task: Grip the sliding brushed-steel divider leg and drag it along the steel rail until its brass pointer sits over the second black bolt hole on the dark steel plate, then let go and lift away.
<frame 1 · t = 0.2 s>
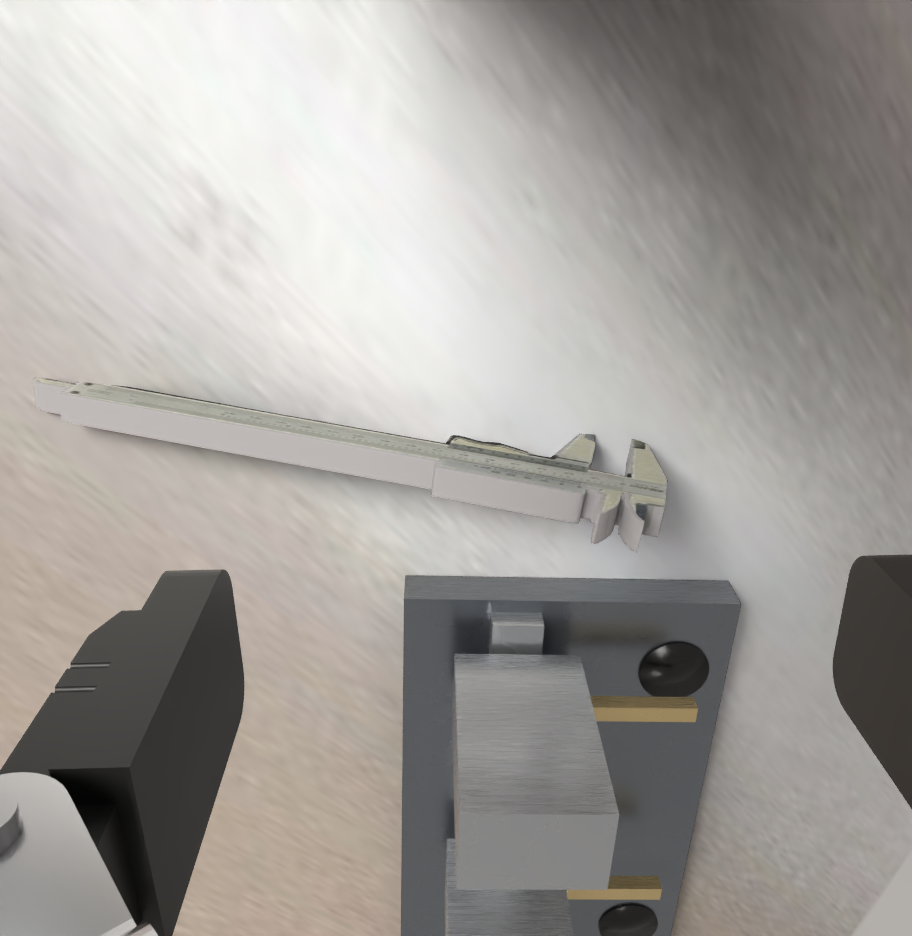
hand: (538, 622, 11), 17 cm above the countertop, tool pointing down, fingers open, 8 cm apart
fixed leg: (514, 688, 30), resting on hole plate
caliper: (348, 418, 29), on the countertop
hole plate: (544, 797, 36), on the countertop
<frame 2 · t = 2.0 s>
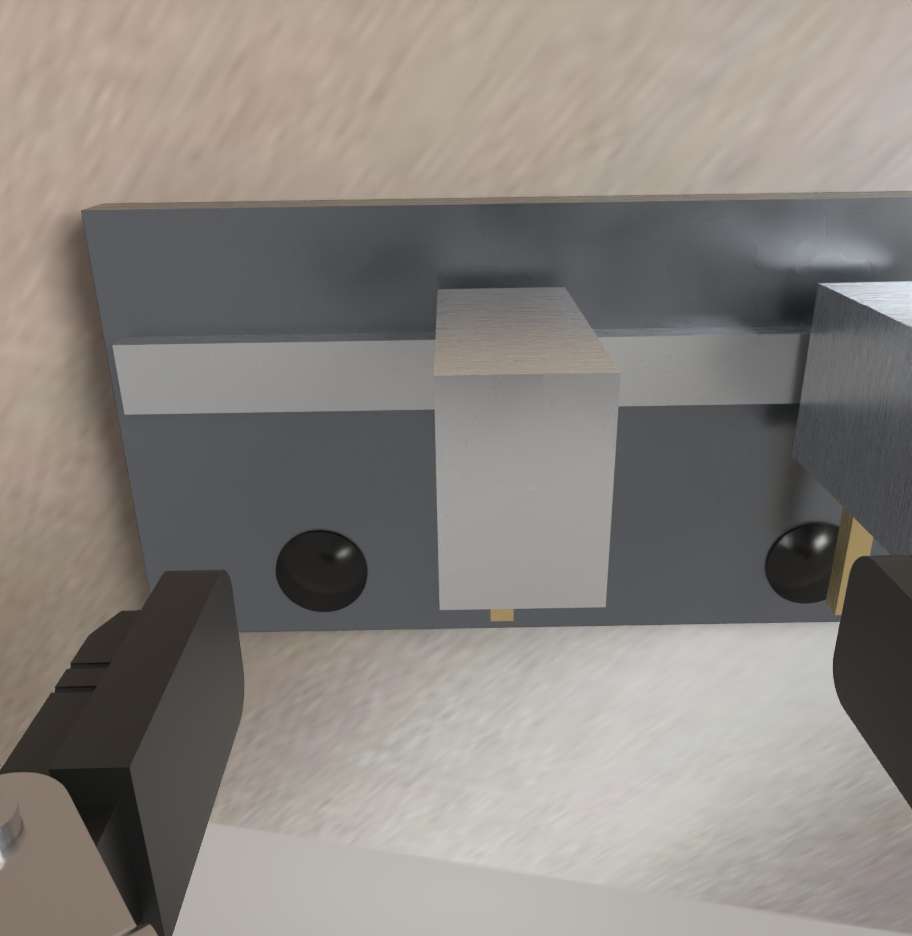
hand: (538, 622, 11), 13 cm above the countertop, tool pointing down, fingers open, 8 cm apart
divider leg: (509, 513, 19), point 6 cm above the countertop, slide at -5.0 cm
fixed leg: (865, 371, 21), resting on hole plate
hole plate: (530, 418, 24), on the countertop
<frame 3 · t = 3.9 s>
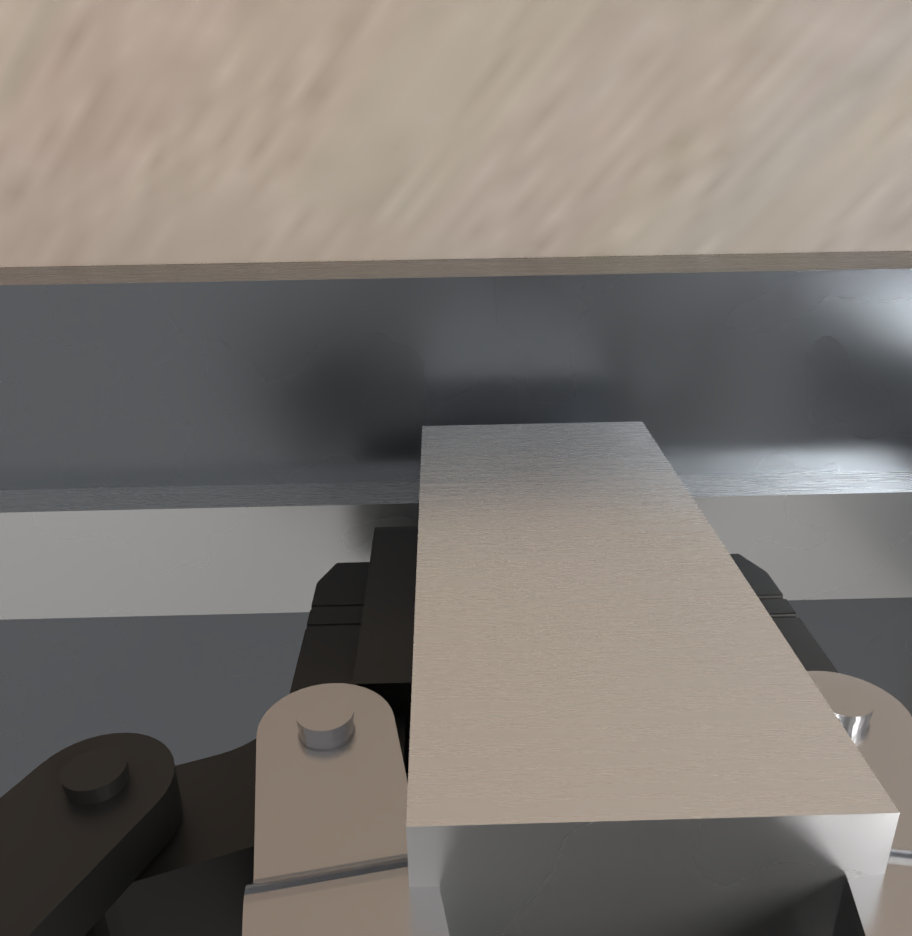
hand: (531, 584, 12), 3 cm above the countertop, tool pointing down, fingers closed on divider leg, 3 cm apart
divider leg: (556, 861, 10), point 6 cm above the countertop, slide at -5.0 cm, touching gripper
hole plate: (565, 589, 16), on the countertop
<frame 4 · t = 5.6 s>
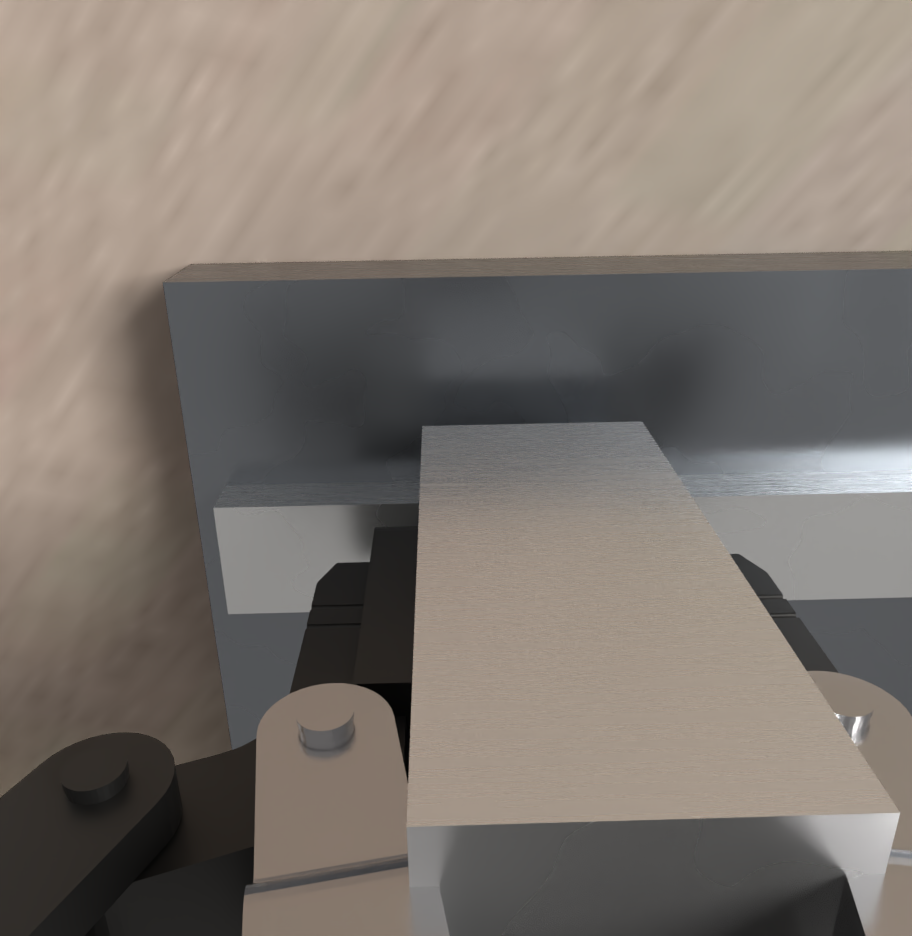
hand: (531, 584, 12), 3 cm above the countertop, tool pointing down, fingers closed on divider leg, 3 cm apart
divider leg: (556, 861, 10), point 6 cm above the countertop, slide at -0.1 cm, touching gripper
hole plate: (833, 582, 16), on the countertop
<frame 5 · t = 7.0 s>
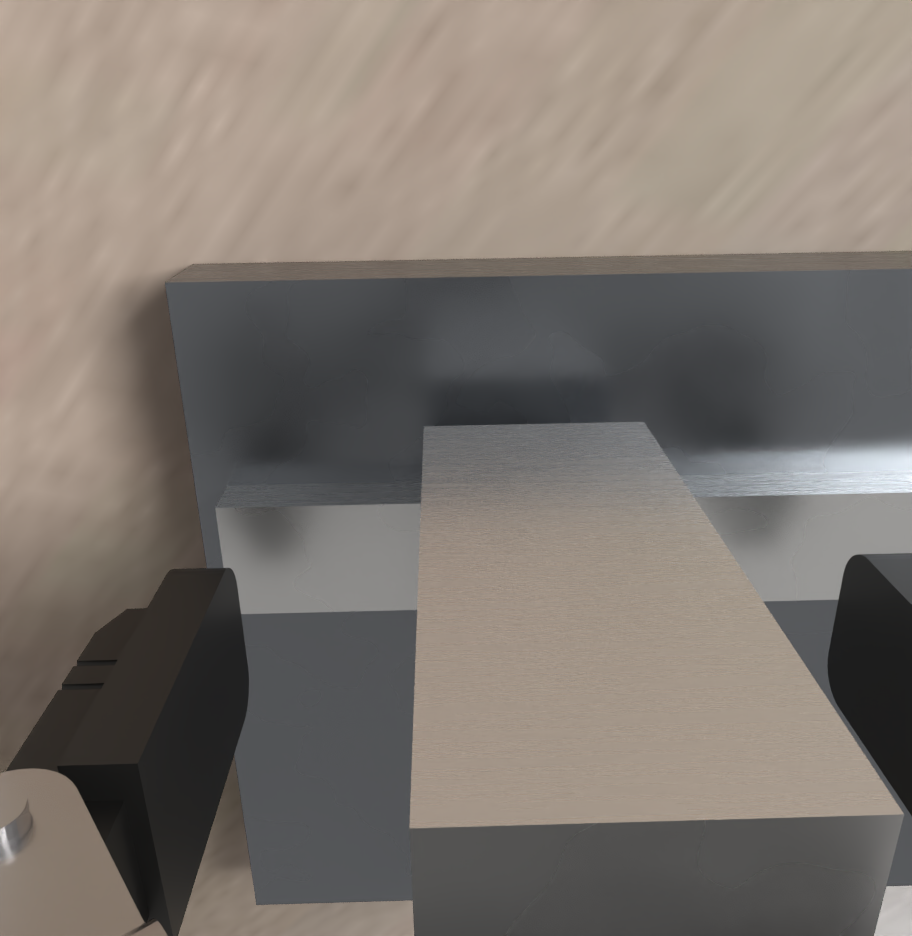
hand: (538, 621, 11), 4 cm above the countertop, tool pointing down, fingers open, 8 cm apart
divider leg: (558, 862, 10), point 6 cm above the countertop, slide at -0.1 cm
hole plate: (835, 582, 16), on the countertop
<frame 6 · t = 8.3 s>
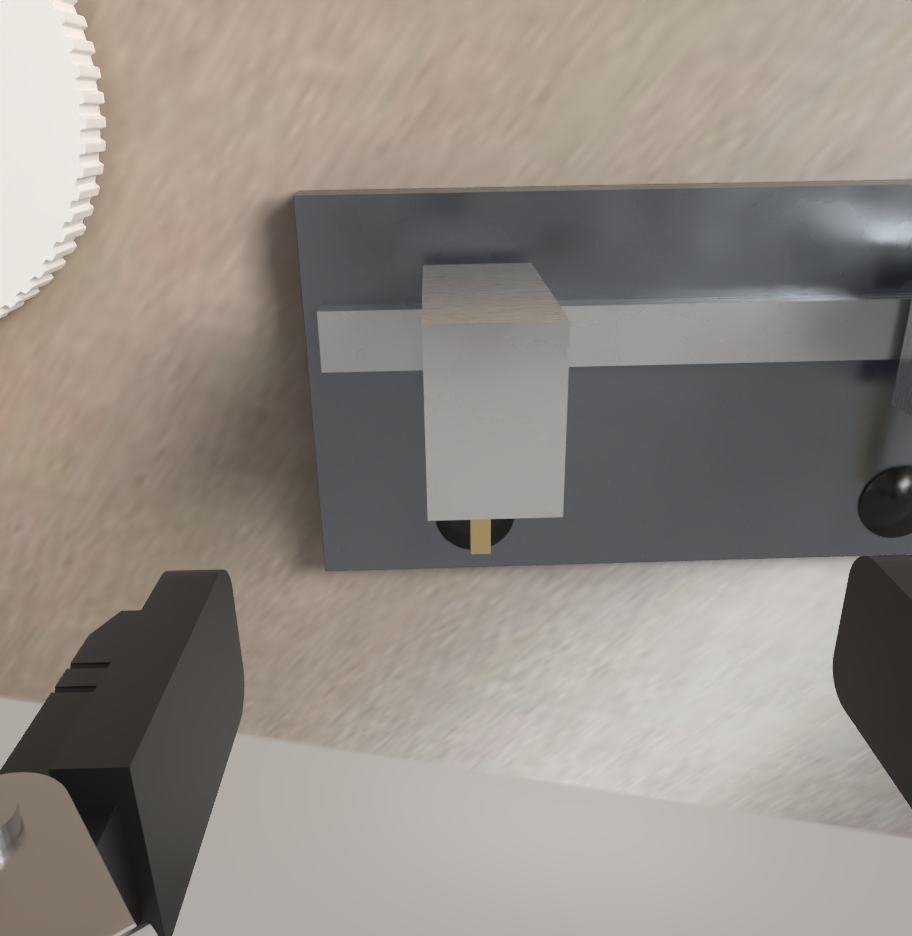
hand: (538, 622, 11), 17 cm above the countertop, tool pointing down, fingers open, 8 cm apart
divider leg: (485, 451, 22), point 6 cm above the countertop, slide at -0.1 cm
hole plate: (655, 377, 28), on the countertop
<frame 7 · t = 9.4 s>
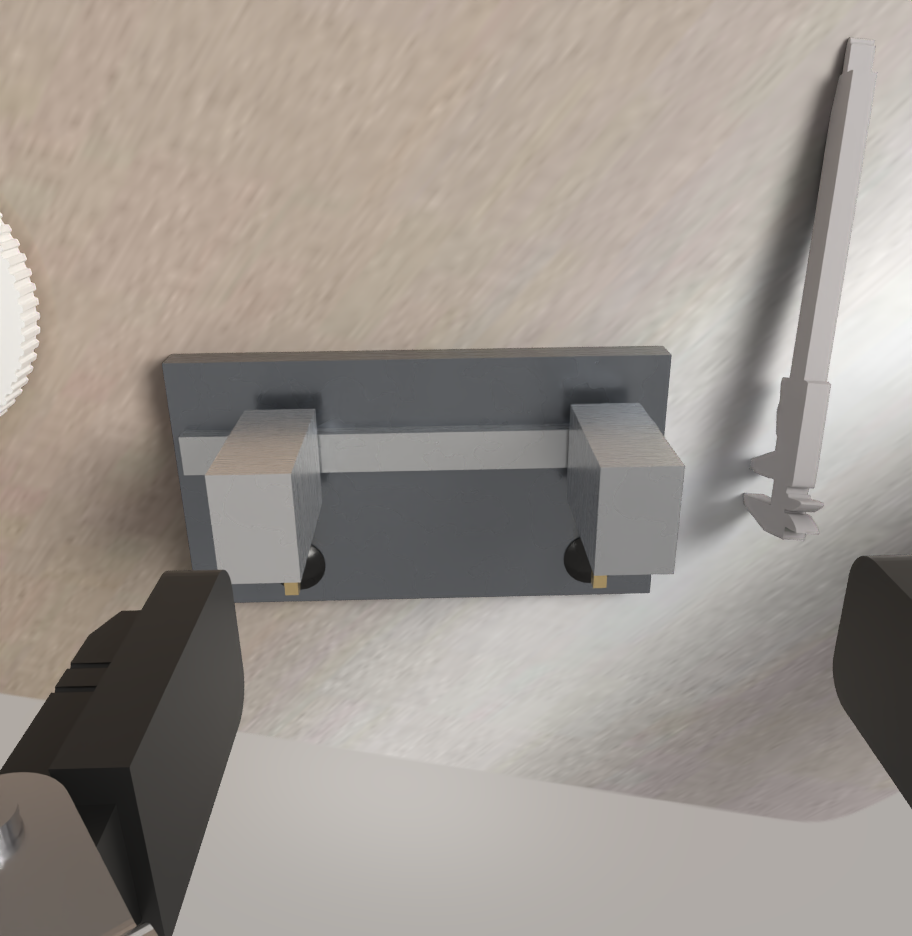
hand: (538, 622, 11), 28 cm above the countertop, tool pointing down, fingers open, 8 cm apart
divider leg: (275, 534, 35), point 6 cm above the countertop, slide at -0.1 cm
fixed leg: (602, 450, 38), resting on hole plate
caliper: (796, 292, 38), on the countertop
hole plate: (422, 472, 40), on the countertop
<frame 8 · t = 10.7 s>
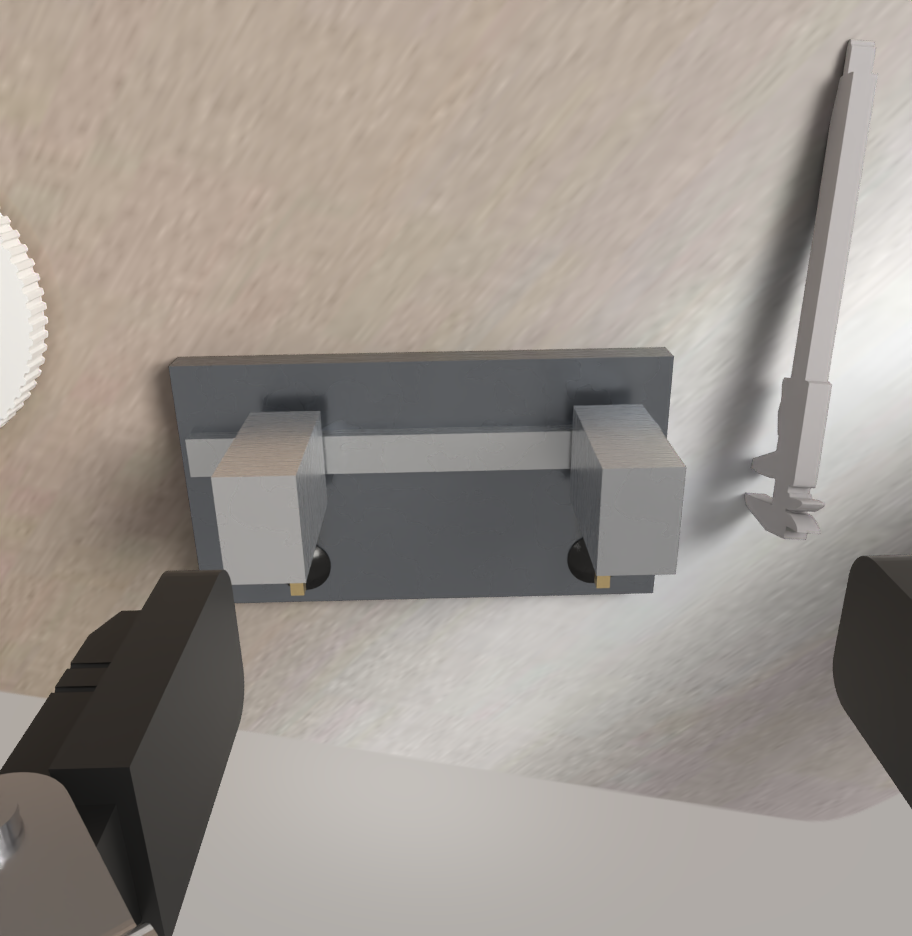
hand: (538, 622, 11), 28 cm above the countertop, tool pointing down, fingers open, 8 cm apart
divider leg: (280, 535, 35), point 6 cm above the countertop, slide at -0.1 cm
fixed leg: (605, 451, 38), resting on hole plate
caliper: (797, 293, 38), on the countertop
hole plate: (426, 474, 41), on the countertop
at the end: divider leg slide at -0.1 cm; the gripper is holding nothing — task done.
